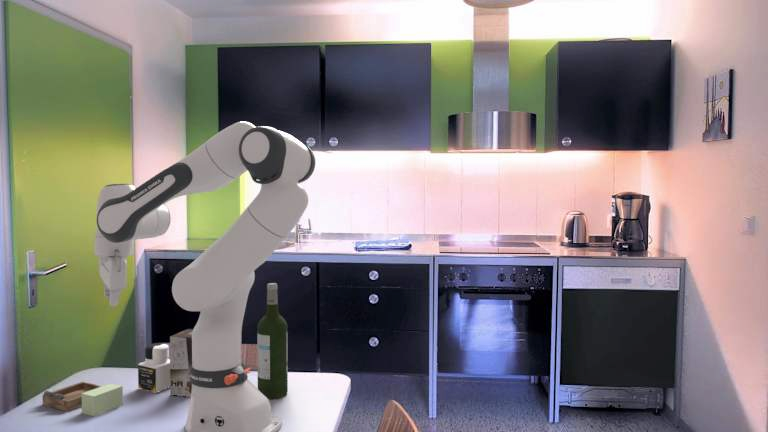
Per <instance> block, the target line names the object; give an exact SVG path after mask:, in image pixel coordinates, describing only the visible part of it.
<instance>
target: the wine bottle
mask: <svg viewBox="0 0 768 432" xmlns="http://www.w3.org/2000/svg"><path fill="white" fill-rule="evenodd" d="M278 289H279V288H278V283H276V282H270V283H267V285H266V290H267V291H266V312H265V315H264V316H263V317H261V319H260V320H259V321H258V324H257V331H256V332H257V334H256V335H257V336H256V337H257V389H258V390H259V391H260V392H261V393H262V394H263V395H264V396H266V397H267V398H268V400H279V399H281V398H285V396H287V394H288V389H289V388H288V386H289V385H288V378H289V377H288V374H289V373H288V364H289V363H288V323H287V321H286V319H285V318H284V317H283V316H282V315H281V314H280V312H279V303H278V301H279V299H278Z"/></svg>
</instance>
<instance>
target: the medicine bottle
mask: <svg viewBox="0 0 768 432" xmlns="http://www.w3.org/2000/svg"><path fill="white" fill-rule="evenodd" d="M144 350H145V351H144V352H145V353H144V356H145V357H144V359H145V361H143V362H140V363H138V364H137V370H138V371H137V376H138V377H137V380H138V381H137V382H138V383H137V384H138V385H137V386H138V389H139V388H140V389H139V390H142V389H145V390H148V391H147V392H149V391H152V392H151V393H153V392H157V393H159V392H158V391H160V392H162V391H164V390H163V389H165V388H168V387H170V345H168V344H167V343H165V342H155V343H151V344H149V345H147V346H145V348H144ZM168 389H169V388H168ZM145 390H144V391H145ZM161 390H162V391H161ZM165 390H166V389H165Z"/></svg>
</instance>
